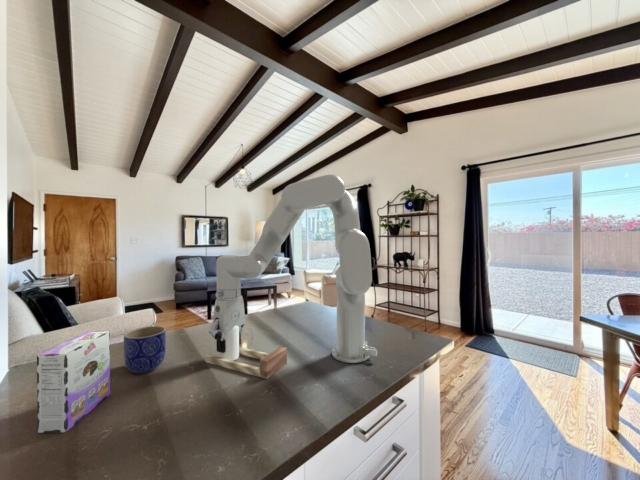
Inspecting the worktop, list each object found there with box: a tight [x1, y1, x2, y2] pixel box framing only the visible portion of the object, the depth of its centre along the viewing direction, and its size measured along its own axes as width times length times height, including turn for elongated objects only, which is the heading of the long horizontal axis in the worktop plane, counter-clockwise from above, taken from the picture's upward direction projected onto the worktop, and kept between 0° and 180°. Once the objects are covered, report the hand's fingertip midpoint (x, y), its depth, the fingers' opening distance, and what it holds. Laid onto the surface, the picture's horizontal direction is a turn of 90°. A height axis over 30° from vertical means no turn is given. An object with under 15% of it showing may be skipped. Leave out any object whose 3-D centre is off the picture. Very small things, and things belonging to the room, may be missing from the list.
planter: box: [123, 325, 167, 374], centre depth 85 cm, size 11×11×11 cm
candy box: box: [36, 330, 112, 434], centre depth 64 cm, size 14×6×16 cm, turn 4°
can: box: [217, 325, 240, 361], centre depth 91 cm, size 6×6×12 cm
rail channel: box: [204, 346, 288, 380], centre depth 88 cm, size 24×10×5 cm, turn 64°
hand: (229, 347), depth 91 cm, fingers closed on can, 6 cm apart
